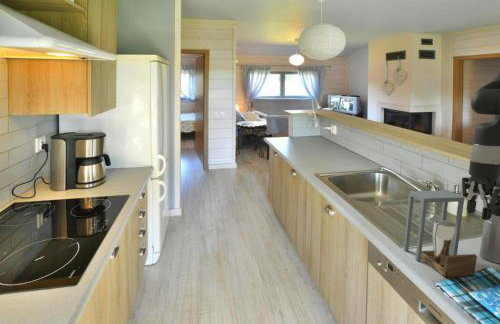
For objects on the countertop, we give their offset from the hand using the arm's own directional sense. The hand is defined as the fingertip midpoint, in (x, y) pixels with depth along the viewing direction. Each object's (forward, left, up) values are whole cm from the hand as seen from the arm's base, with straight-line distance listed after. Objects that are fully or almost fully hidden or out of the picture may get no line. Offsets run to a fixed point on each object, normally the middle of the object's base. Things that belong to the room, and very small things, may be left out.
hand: (478, 215), depth 99 cm
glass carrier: (-6, -12, -23) cm, 26 cm away
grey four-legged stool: (-9, -20, -23) cm, 32 cm away
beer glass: (-6, -14, -24) cm, 28 cm away
